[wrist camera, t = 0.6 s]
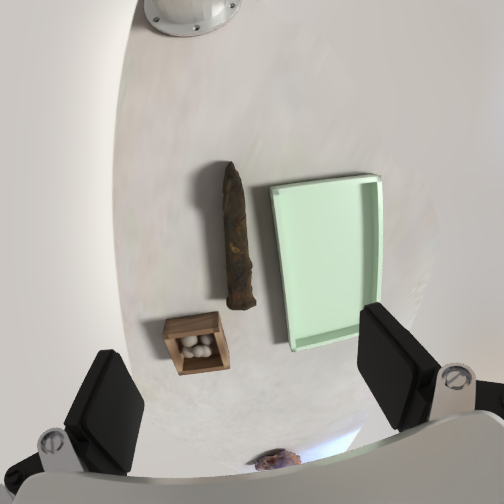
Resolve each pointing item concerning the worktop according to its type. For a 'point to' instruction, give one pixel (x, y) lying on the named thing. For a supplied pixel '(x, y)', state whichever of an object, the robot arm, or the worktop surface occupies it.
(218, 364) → the gravel box
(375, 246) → the tray
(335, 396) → the worktop surface
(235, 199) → the dark brown tapered bar
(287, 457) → the skull
